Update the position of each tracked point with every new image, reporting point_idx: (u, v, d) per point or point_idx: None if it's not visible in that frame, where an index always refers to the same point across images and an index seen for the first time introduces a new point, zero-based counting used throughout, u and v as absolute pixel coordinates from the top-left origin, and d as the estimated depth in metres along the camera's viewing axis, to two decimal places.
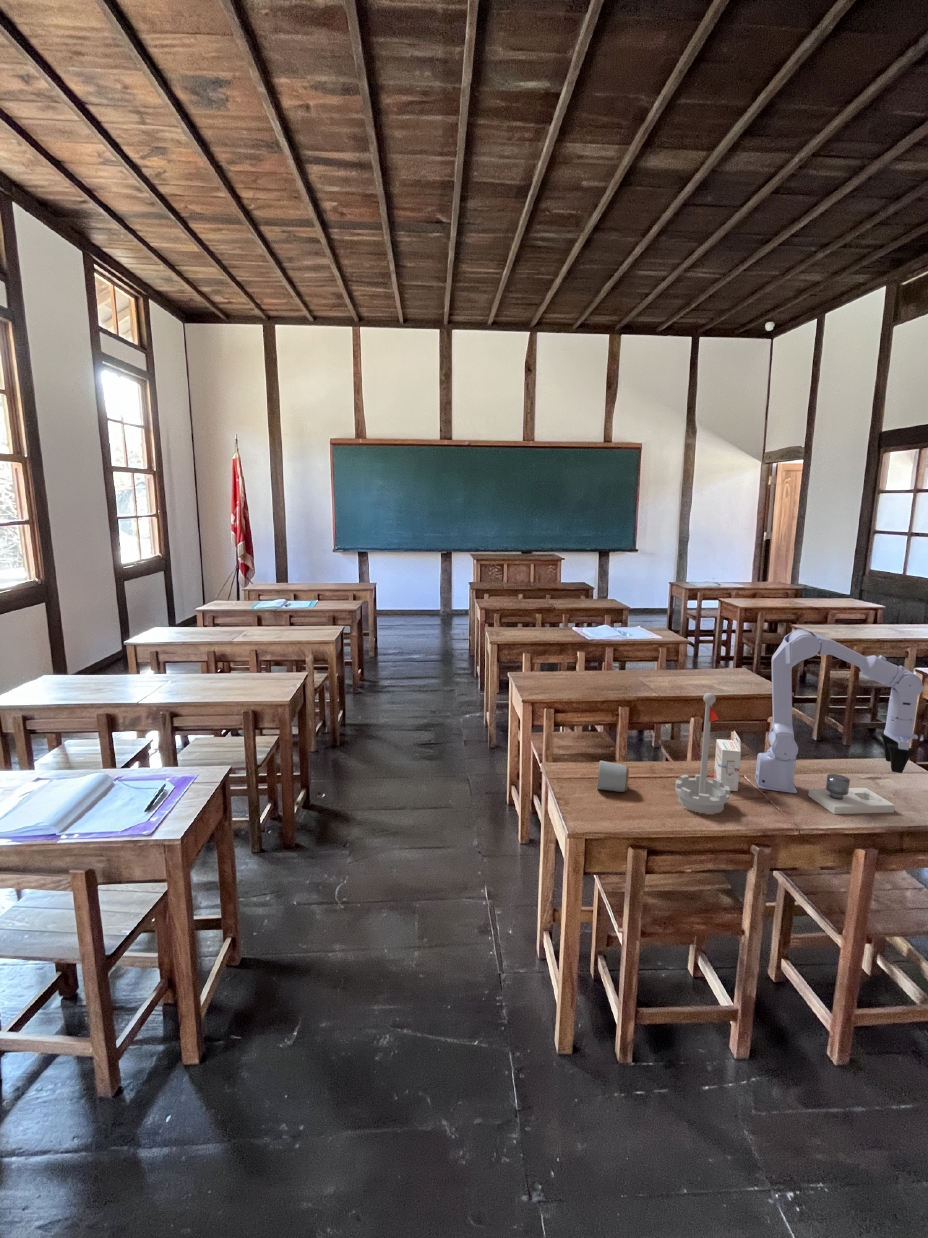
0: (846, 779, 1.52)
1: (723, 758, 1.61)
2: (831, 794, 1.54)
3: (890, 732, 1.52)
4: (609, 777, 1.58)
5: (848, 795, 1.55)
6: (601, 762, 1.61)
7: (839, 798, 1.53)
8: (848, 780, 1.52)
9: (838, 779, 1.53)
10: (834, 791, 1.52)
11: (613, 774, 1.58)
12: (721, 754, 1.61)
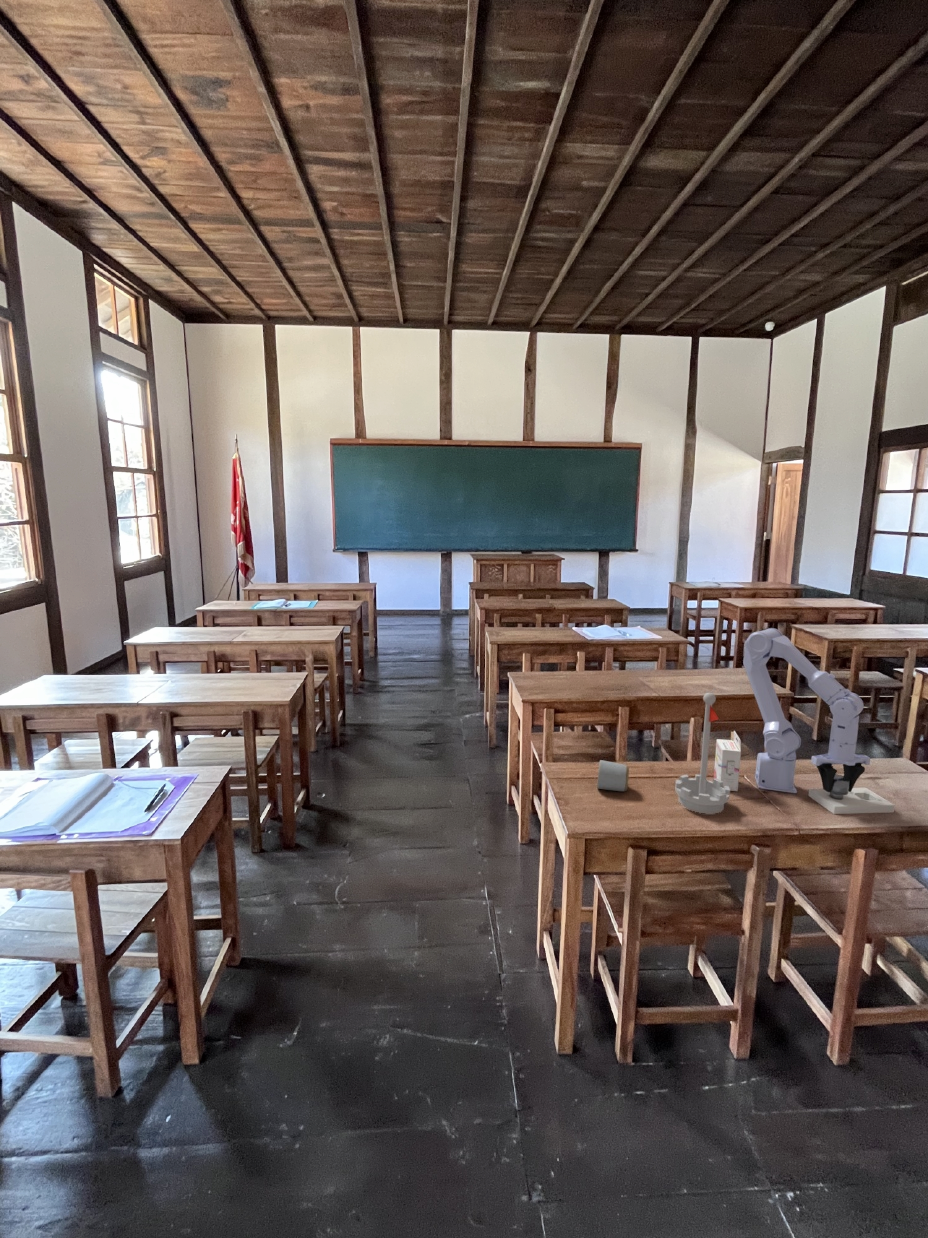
0: (846, 779, 1.52)
1: (723, 758, 1.61)
2: (831, 794, 1.54)
3: None
4: (609, 776, 1.58)
5: (848, 795, 1.55)
6: (601, 761, 1.62)
7: (839, 798, 1.53)
8: (848, 780, 1.52)
9: (838, 779, 1.53)
10: (834, 791, 1.52)
11: (613, 774, 1.58)
12: (721, 754, 1.61)
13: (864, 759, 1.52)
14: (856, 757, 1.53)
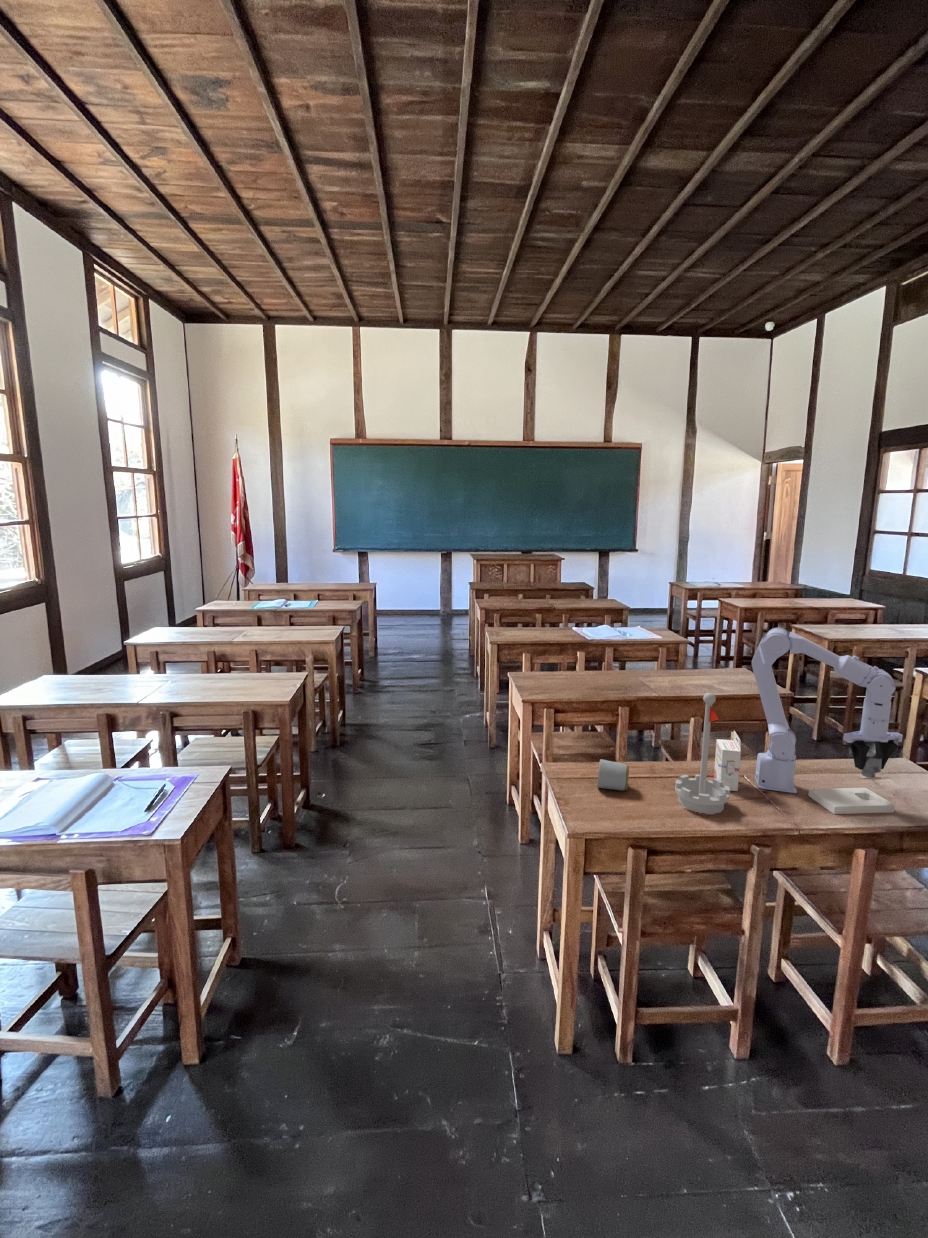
0: (878, 757, 1.52)
1: (723, 758, 1.61)
2: (863, 772, 1.54)
3: None
4: (609, 776, 1.59)
5: (848, 795, 1.55)
6: (601, 761, 1.62)
7: (871, 776, 1.52)
8: (881, 758, 1.52)
9: (870, 756, 1.52)
10: (866, 769, 1.52)
11: (613, 773, 1.59)
12: (721, 754, 1.61)
13: (897, 736, 1.51)
14: (888, 734, 1.52)
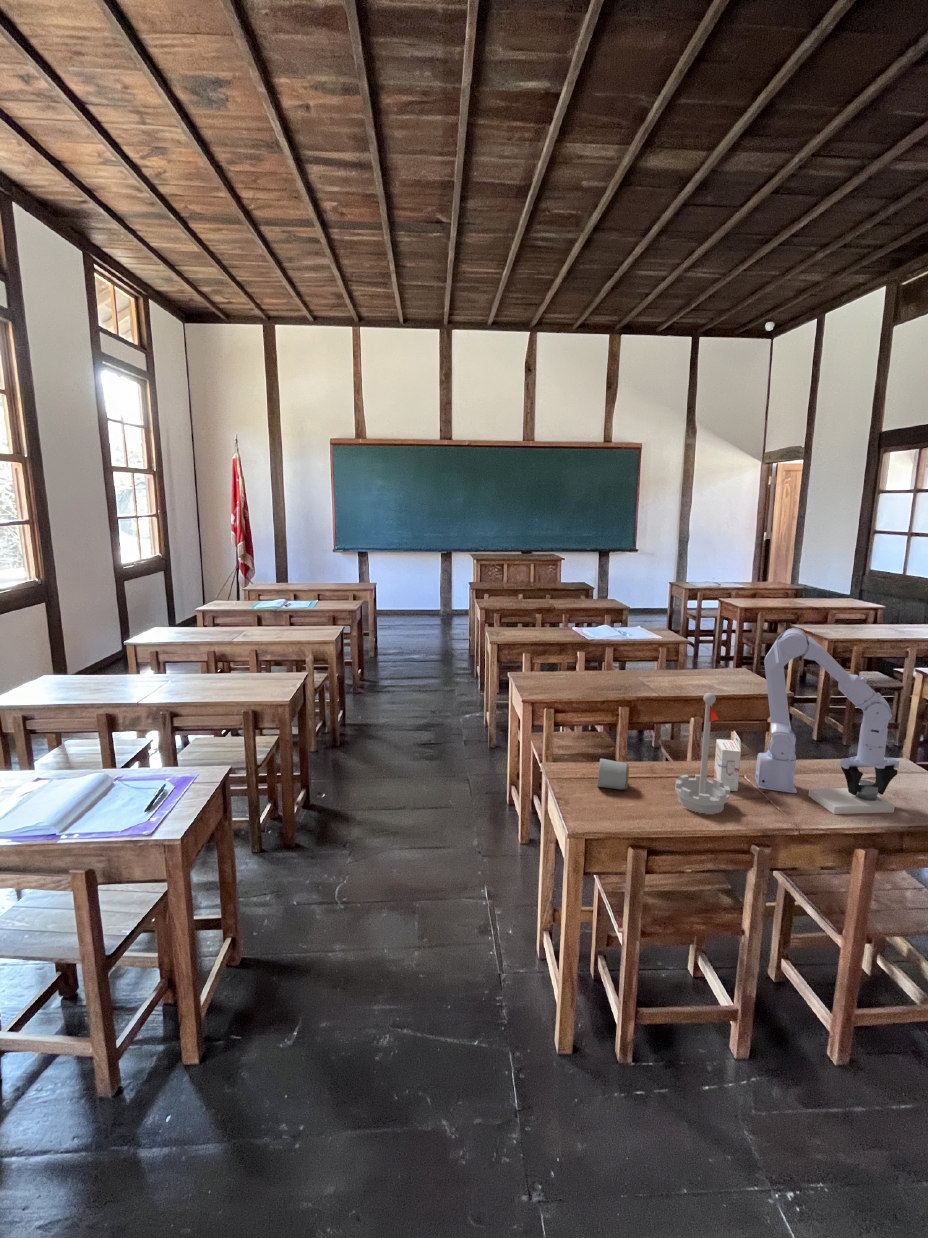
0: (874, 785, 1.53)
1: (723, 758, 1.61)
2: None
3: None
4: (609, 775, 1.60)
5: (848, 795, 1.55)
6: (601, 760, 1.63)
7: None
8: (877, 786, 1.53)
9: (867, 785, 1.54)
10: (863, 797, 1.53)
11: (613, 772, 1.60)
12: (721, 754, 1.61)
13: (893, 762, 1.52)
14: (885, 760, 1.53)
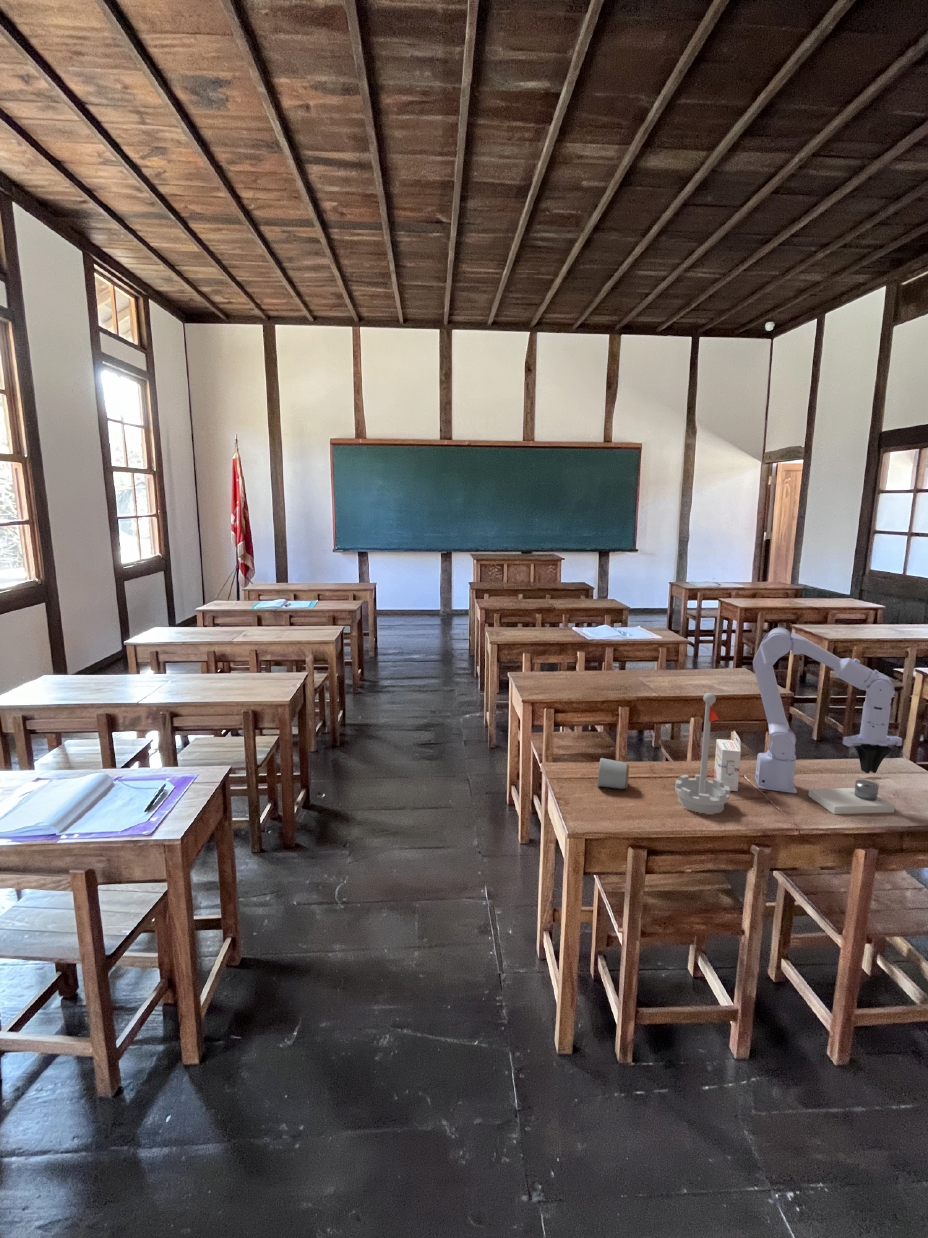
0: (874, 785, 1.53)
1: (723, 758, 1.61)
2: None
3: None
4: (609, 774, 1.60)
5: (848, 795, 1.55)
6: (601, 759, 1.63)
7: None
8: (877, 786, 1.53)
9: (867, 785, 1.54)
10: (863, 797, 1.53)
11: (613, 771, 1.60)
12: (721, 754, 1.61)
13: (896, 740, 1.51)
14: (888, 738, 1.52)
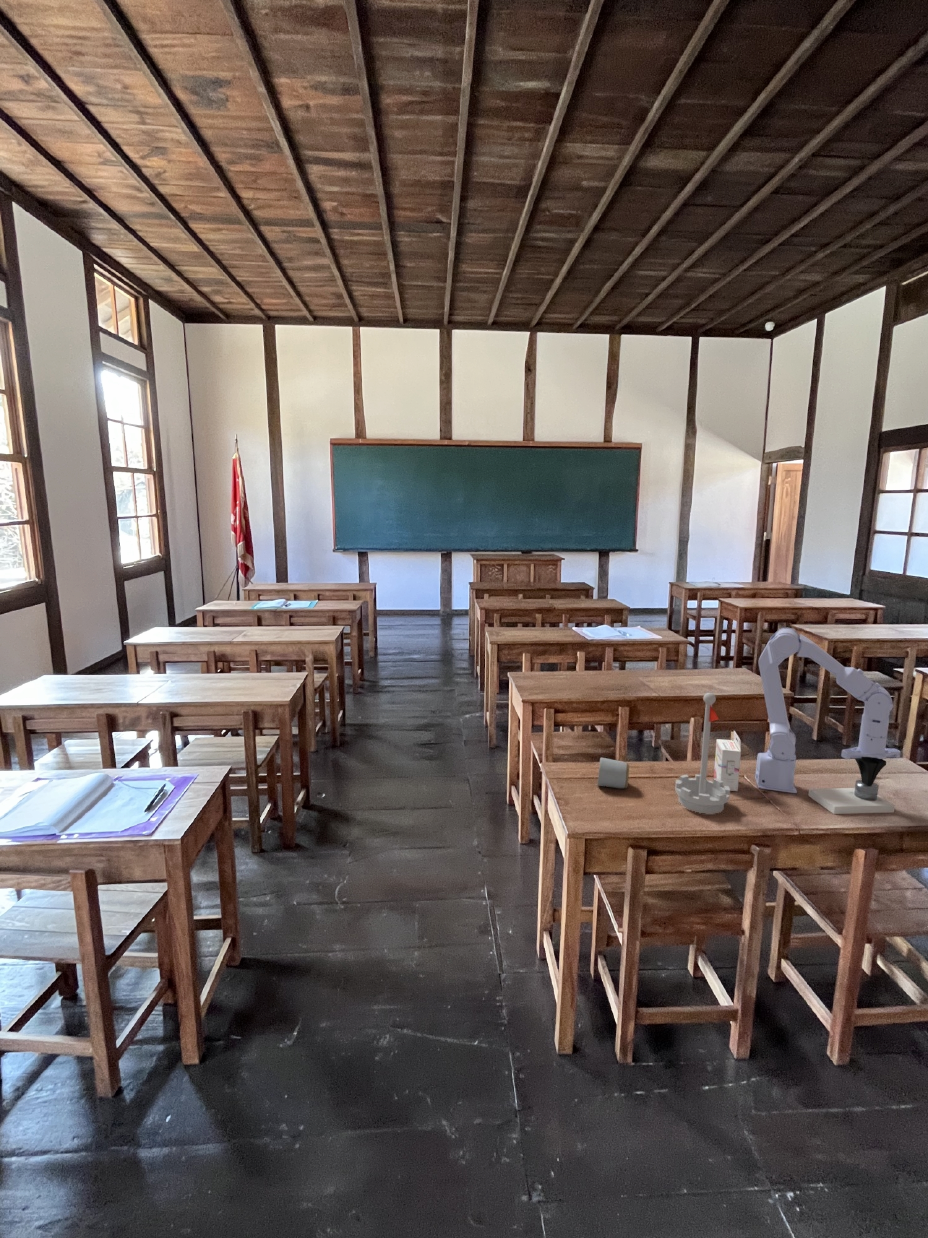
0: (874, 785, 1.53)
1: (723, 758, 1.61)
2: None
3: None
4: (609, 774, 1.60)
5: (848, 795, 1.55)
6: (602, 759, 1.63)
7: None
8: (877, 786, 1.53)
9: None
10: (863, 797, 1.53)
11: (613, 771, 1.60)
12: (721, 754, 1.61)
13: (894, 753, 1.52)
14: (886, 751, 1.53)
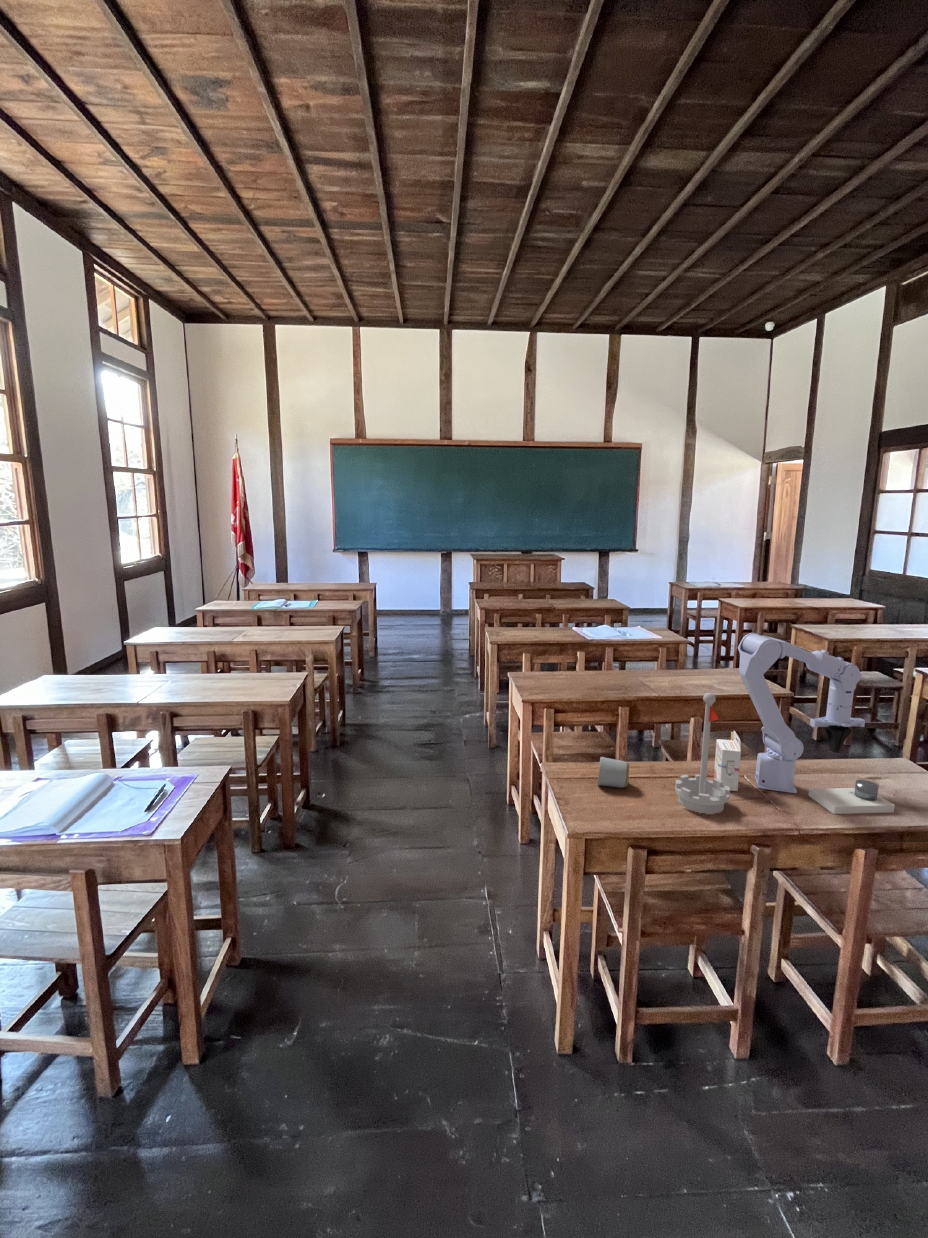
0: (874, 785, 1.53)
1: (723, 758, 1.61)
2: None
3: None
4: (610, 773, 1.61)
5: (848, 795, 1.55)
6: (602, 758, 1.64)
7: None
8: (877, 786, 1.53)
9: (867, 785, 1.54)
10: (863, 797, 1.53)
11: (613, 770, 1.61)
12: (721, 754, 1.61)
13: (859, 721, 1.62)
14: (852, 720, 1.63)
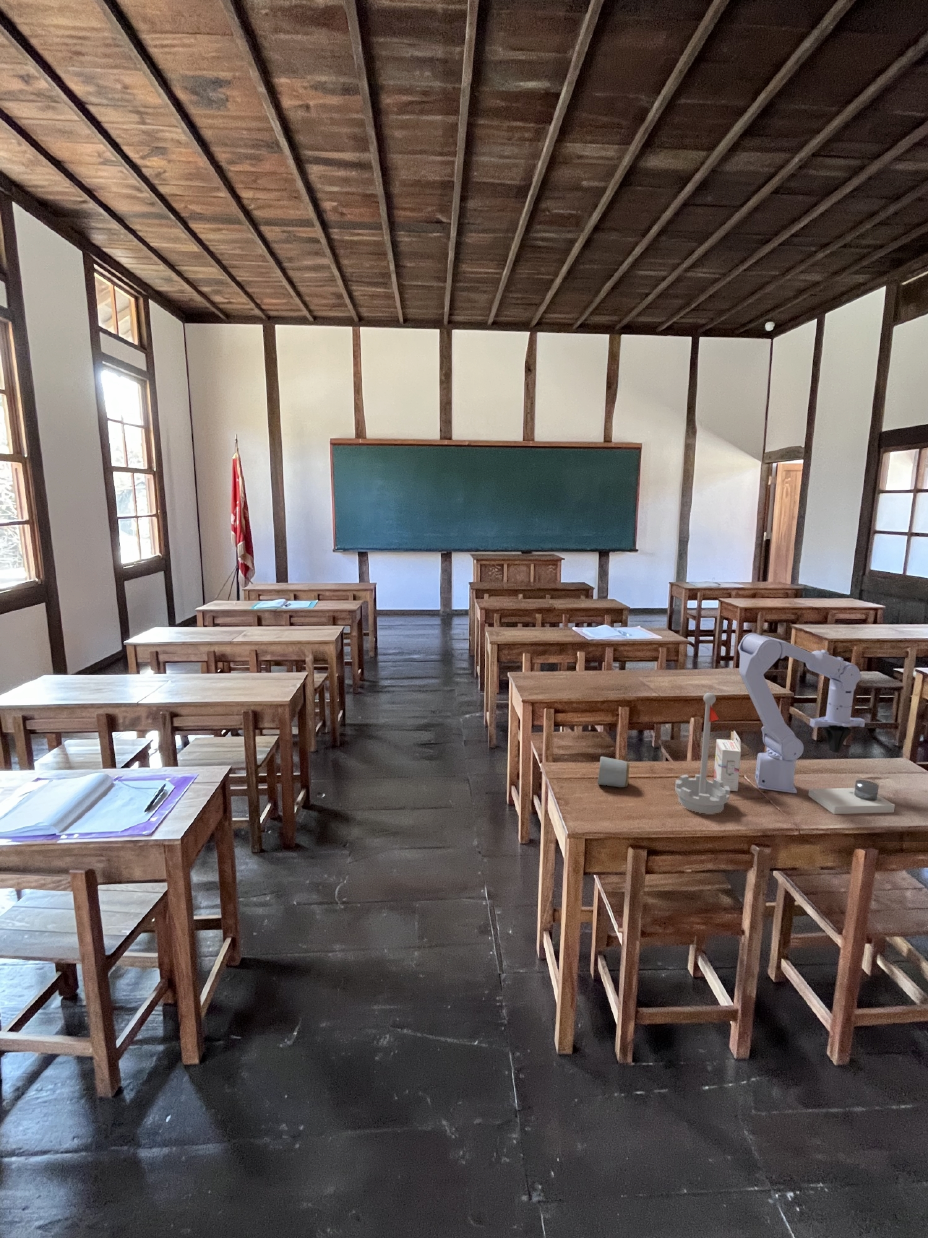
0: (874, 785, 1.53)
1: (723, 758, 1.61)
2: None
3: None
4: (610, 773, 1.61)
5: (848, 795, 1.55)
6: (602, 758, 1.64)
7: None
8: (877, 786, 1.53)
9: (867, 785, 1.54)
10: (863, 797, 1.53)
11: (613, 770, 1.61)
12: (721, 754, 1.61)
13: (859, 721, 1.62)
14: (852, 720, 1.63)
